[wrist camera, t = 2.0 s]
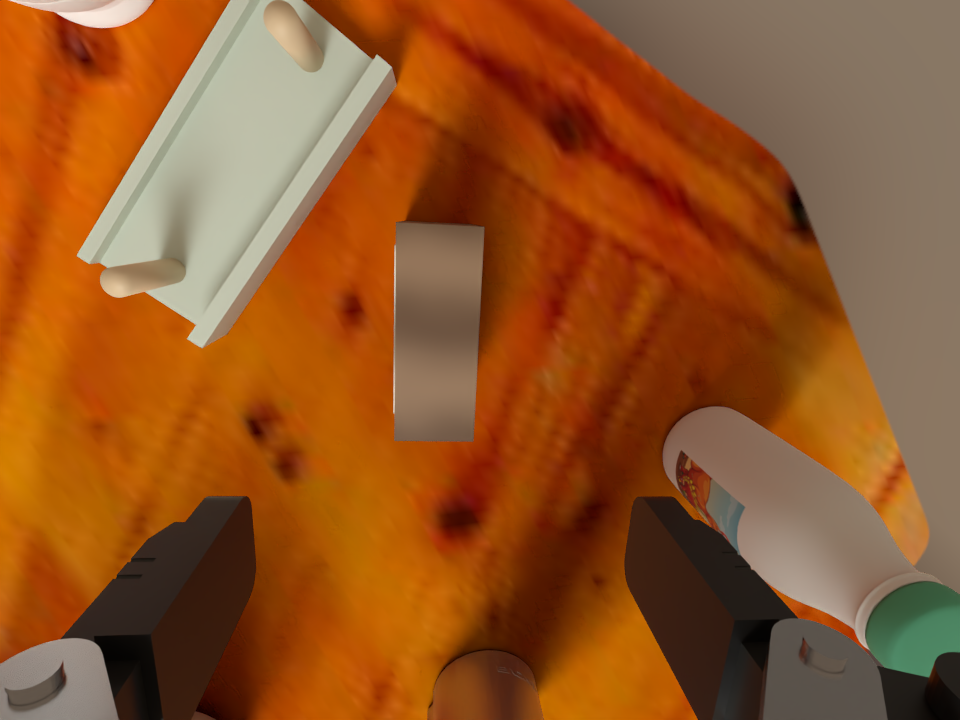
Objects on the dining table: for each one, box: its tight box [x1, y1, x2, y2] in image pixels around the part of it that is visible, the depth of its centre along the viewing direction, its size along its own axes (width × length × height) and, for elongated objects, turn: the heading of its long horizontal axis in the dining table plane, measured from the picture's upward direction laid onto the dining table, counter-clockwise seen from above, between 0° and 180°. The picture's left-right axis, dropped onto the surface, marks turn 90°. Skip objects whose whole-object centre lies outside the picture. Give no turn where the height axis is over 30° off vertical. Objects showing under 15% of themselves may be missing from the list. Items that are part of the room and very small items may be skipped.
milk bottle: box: [663, 406, 960, 677], centre depth 32 cm, size 8×8×20 cm
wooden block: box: [393, 221, 484, 441], centre depth 32 cm, size 12×5×9 cm, turn 177°
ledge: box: [77, 0, 397, 348], centre depth 29 cm, size 20×9×8 cm, turn 142°
